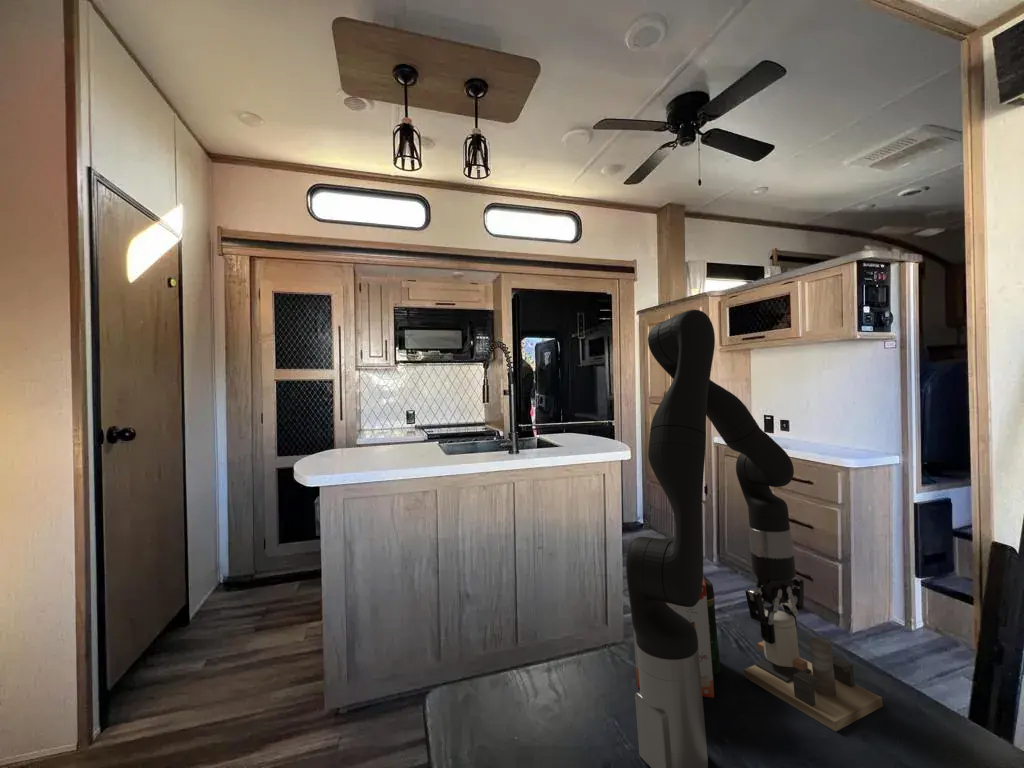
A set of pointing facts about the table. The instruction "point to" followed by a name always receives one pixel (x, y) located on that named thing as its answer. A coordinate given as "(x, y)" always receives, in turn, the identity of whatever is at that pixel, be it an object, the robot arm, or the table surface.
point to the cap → (783, 643)
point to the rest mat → (780, 670)
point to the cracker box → (701, 624)
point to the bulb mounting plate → (821, 688)
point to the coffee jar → (712, 626)
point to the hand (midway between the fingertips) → (779, 637)
